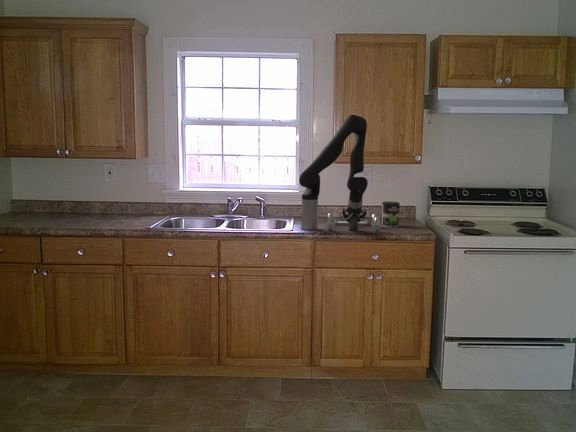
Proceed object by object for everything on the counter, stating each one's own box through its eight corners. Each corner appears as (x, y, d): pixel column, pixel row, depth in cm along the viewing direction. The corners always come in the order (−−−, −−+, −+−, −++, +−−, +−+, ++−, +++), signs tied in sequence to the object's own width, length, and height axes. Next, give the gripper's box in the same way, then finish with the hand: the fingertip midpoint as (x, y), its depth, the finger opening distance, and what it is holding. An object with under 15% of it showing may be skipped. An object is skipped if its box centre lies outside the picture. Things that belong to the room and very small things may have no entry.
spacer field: (327, 231, 308) (328, 217, 306) (327, 225, 325) (327, 212, 324) (379, 232, 306) (380, 217, 305) (376, 226, 324) (377, 213, 322)
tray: (335, 225, 327) (335, 222, 326) (334, 220, 344) (334, 218, 344) (368, 226, 325) (368, 223, 325) (366, 221, 343) (366, 219, 343)
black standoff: (349, 230, 309) (349, 213, 307) (348, 229, 314) (349, 211, 312) (358, 230, 309) (358, 213, 307) (357, 229, 313) (357, 211, 312)
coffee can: (401, 227, 324) (402, 203, 322) (385, 227, 322) (386, 203, 319) (394, 224, 334) (395, 201, 332) (378, 224, 331) (379, 201, 329)
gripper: (368, 198, 301) (365, 216, 314) (342, 197, 301) (340, 215, 315) (368, 208, 296) (366, 227, 310) (342, 208, 297) (340, 226, 310)
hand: (353, 221), depth 312 cm, fingers closed on black standoff, 5 cm apart
